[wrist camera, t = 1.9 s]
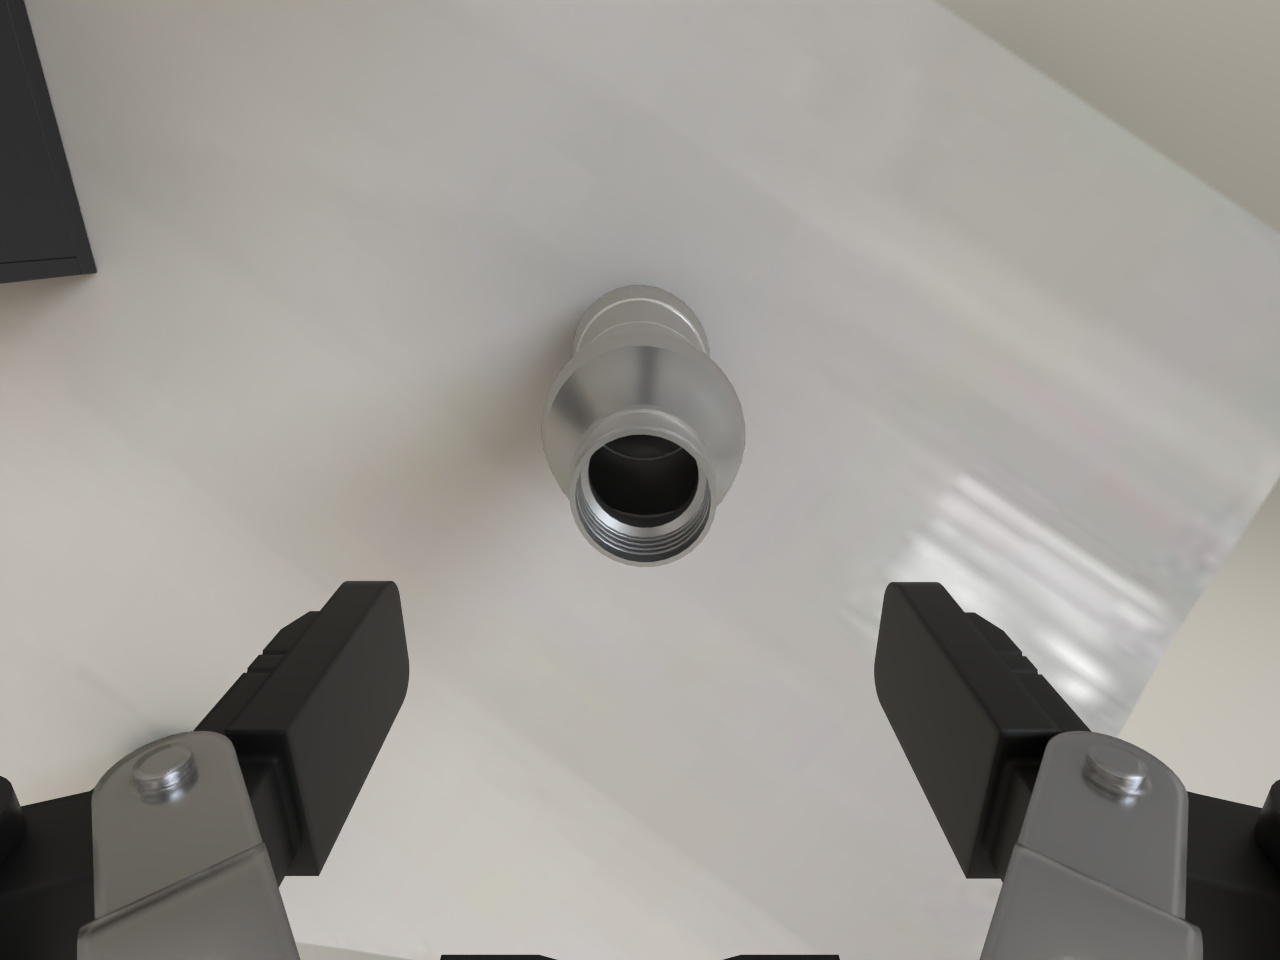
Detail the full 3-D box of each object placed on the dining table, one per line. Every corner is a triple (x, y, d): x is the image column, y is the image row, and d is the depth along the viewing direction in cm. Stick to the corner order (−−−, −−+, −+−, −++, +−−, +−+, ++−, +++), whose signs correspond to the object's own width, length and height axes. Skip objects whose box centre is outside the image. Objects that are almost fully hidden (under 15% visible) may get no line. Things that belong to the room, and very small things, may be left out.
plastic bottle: (663, 254, 34) (691, 306, 15) (728, 372, 36) (823, 547, 17) (551, 322, 35) (451, 449, 16) (621, 433, 37) (602, 658, 18)
